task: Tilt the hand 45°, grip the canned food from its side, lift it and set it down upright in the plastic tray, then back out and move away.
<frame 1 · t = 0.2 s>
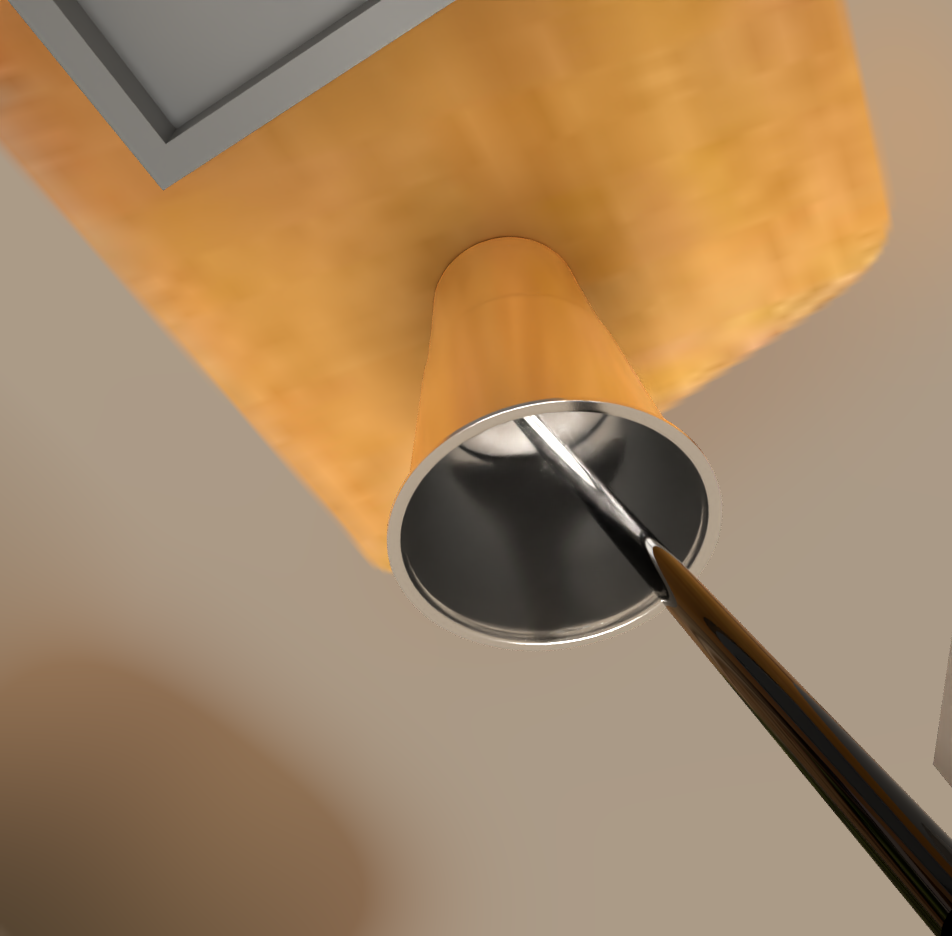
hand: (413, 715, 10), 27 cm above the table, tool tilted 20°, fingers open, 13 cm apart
glass: (507, 288, 37), on the table
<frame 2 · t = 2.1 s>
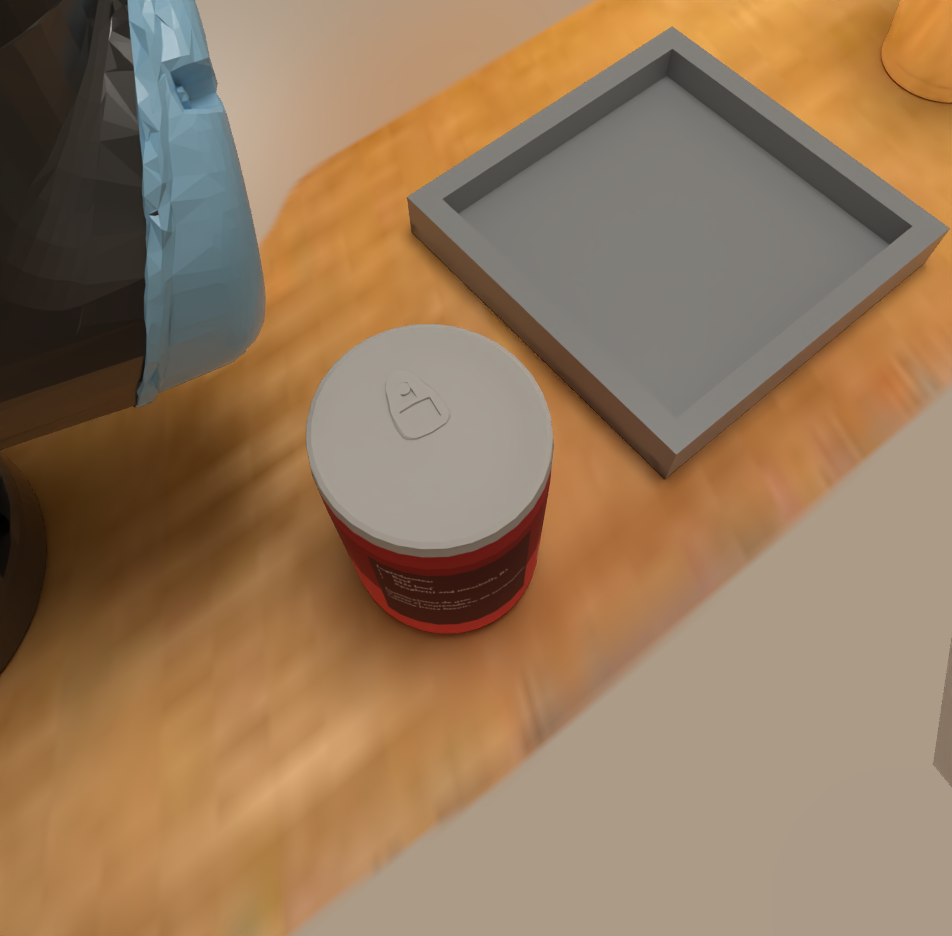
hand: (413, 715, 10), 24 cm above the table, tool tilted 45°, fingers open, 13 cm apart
tray: (664, 246, 42), on the table
glass: (924, 65, 48), on the table
canned food: (446, 548, 36), on the table
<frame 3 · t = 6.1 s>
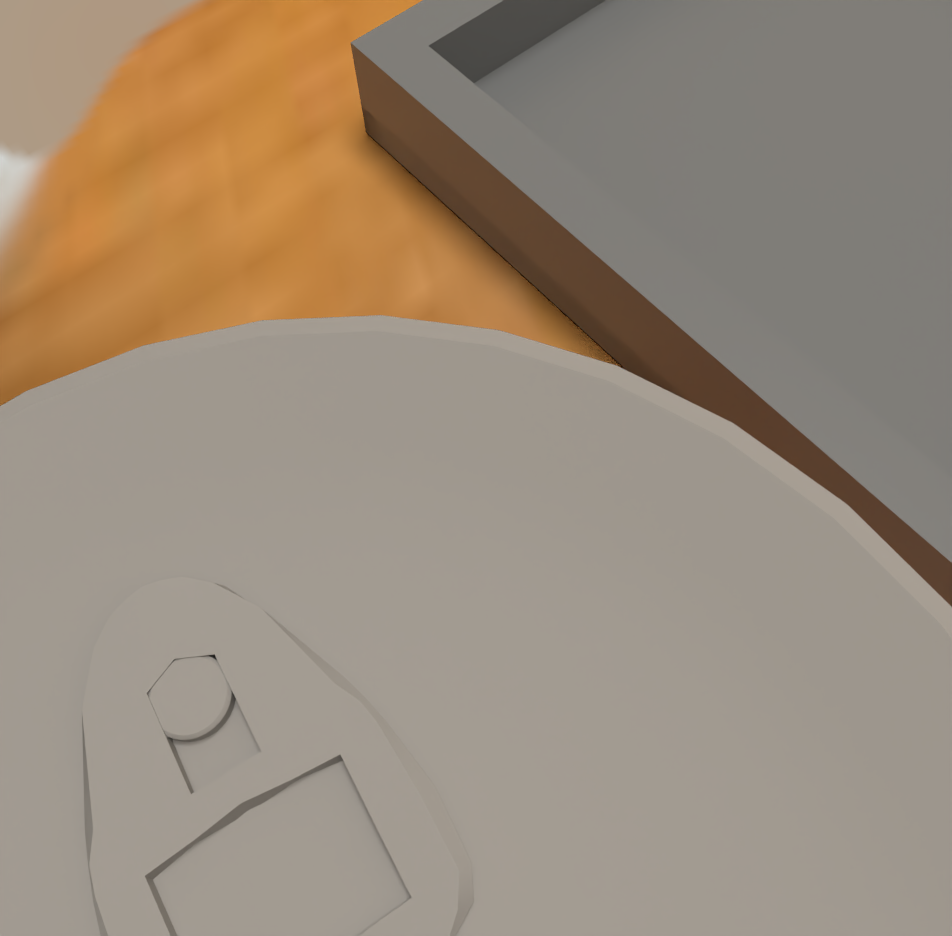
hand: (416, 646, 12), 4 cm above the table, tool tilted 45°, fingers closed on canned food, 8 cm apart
tray: (898, 155, 20), on the table
canned food: (446, 910, 14), on the table, touching gripper
when the fingers open (6 cm above the table, at t = 11.5 s): canned food drops 1 cm, resting on tray.
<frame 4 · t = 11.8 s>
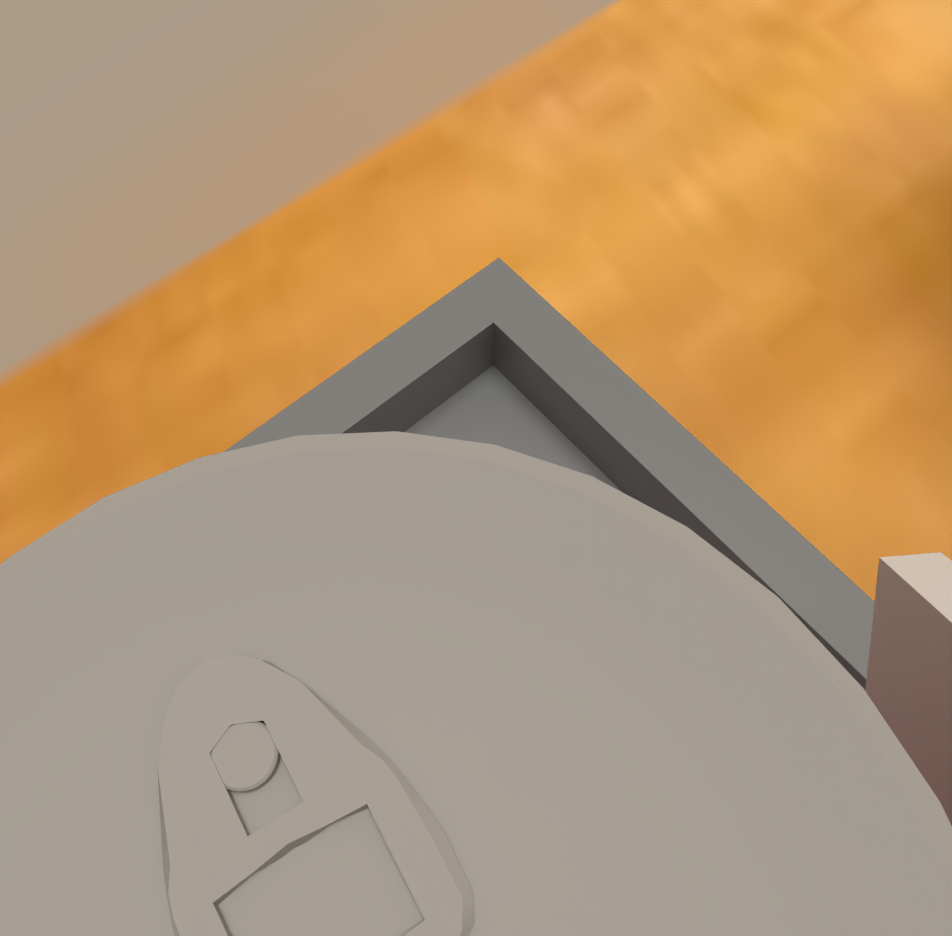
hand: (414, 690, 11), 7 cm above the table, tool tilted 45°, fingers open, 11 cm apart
tray: (451, 904, 15), on the table
canned food: (448, 916, 15), point 1 cm above the table, touching tray
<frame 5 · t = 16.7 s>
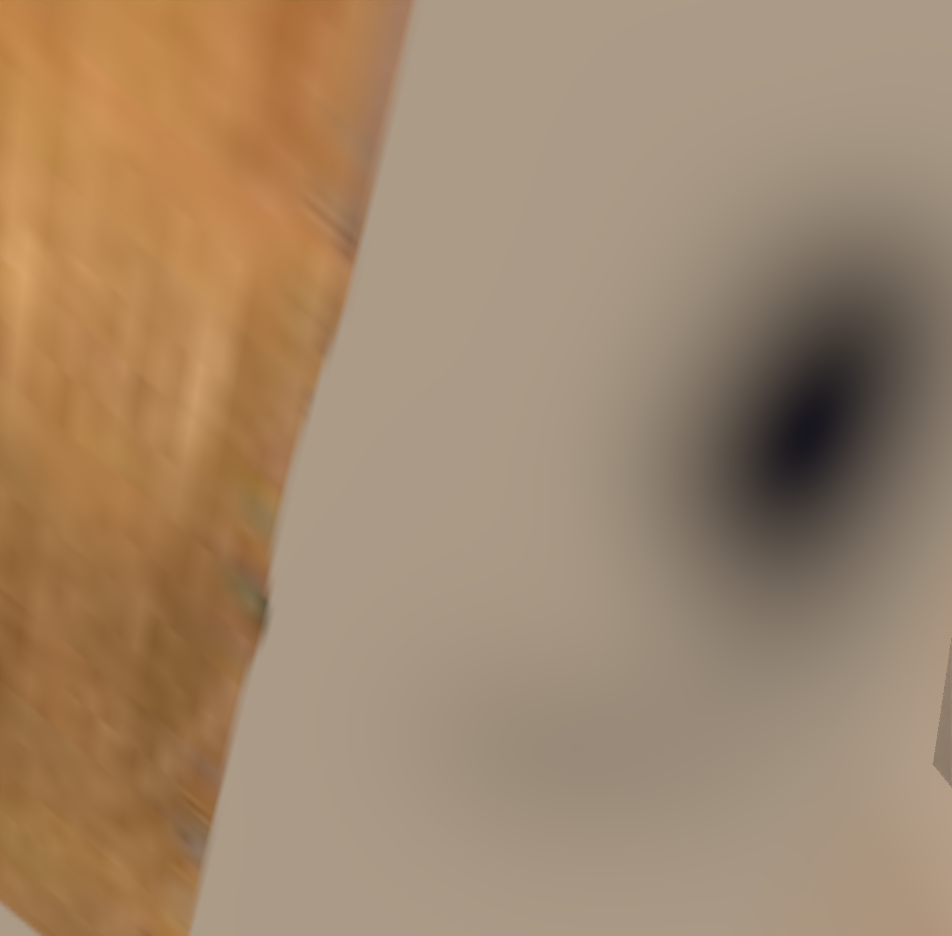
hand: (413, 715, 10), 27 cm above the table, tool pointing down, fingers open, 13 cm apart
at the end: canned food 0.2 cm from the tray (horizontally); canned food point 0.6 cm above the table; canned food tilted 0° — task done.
